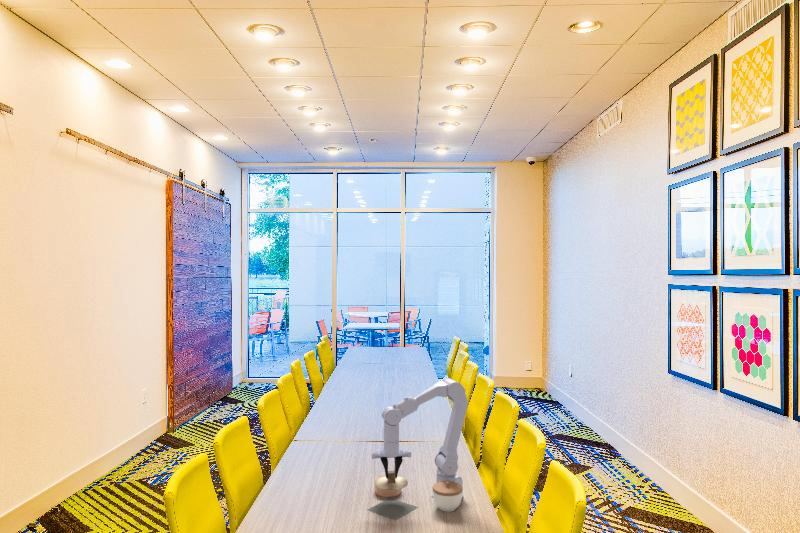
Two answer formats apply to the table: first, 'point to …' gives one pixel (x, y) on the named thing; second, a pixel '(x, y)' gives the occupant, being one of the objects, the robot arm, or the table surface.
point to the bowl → (386, 491)
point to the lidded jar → (447, 495)
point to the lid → (391, 482)
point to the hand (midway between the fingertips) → (391, 477)
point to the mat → (392, 508)
